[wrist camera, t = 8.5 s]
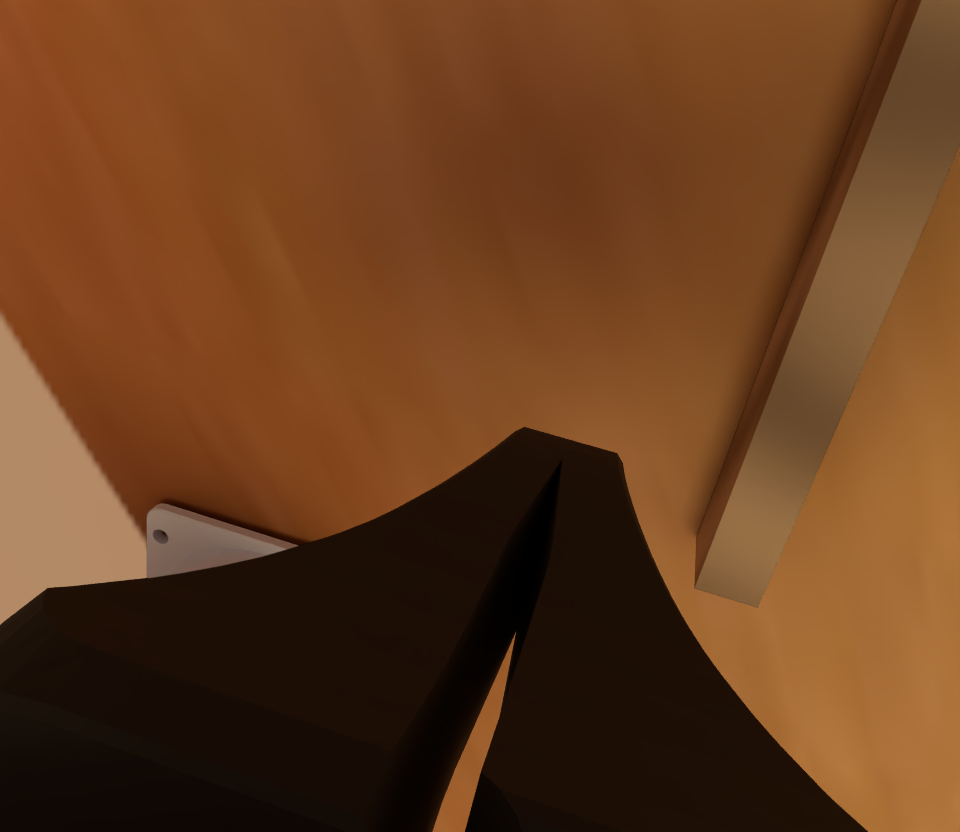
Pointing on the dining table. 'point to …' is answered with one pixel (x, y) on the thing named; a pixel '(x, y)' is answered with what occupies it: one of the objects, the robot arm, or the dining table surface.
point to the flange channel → (837, 296)
